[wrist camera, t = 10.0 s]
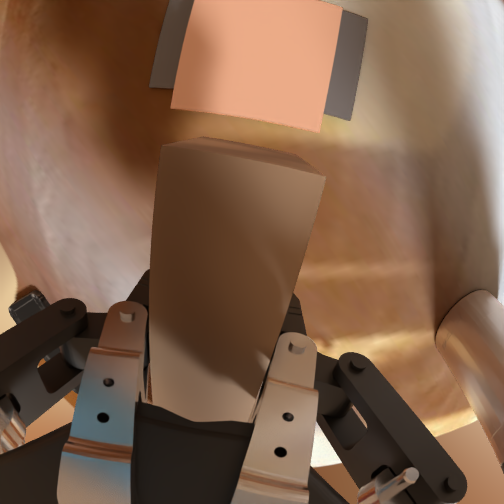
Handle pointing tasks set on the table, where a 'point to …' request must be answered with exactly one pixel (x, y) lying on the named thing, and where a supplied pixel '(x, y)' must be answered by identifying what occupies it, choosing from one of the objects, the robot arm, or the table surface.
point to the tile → (259, 60)
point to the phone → (28, 308)
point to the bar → (223, 270)
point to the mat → (342, 70)
